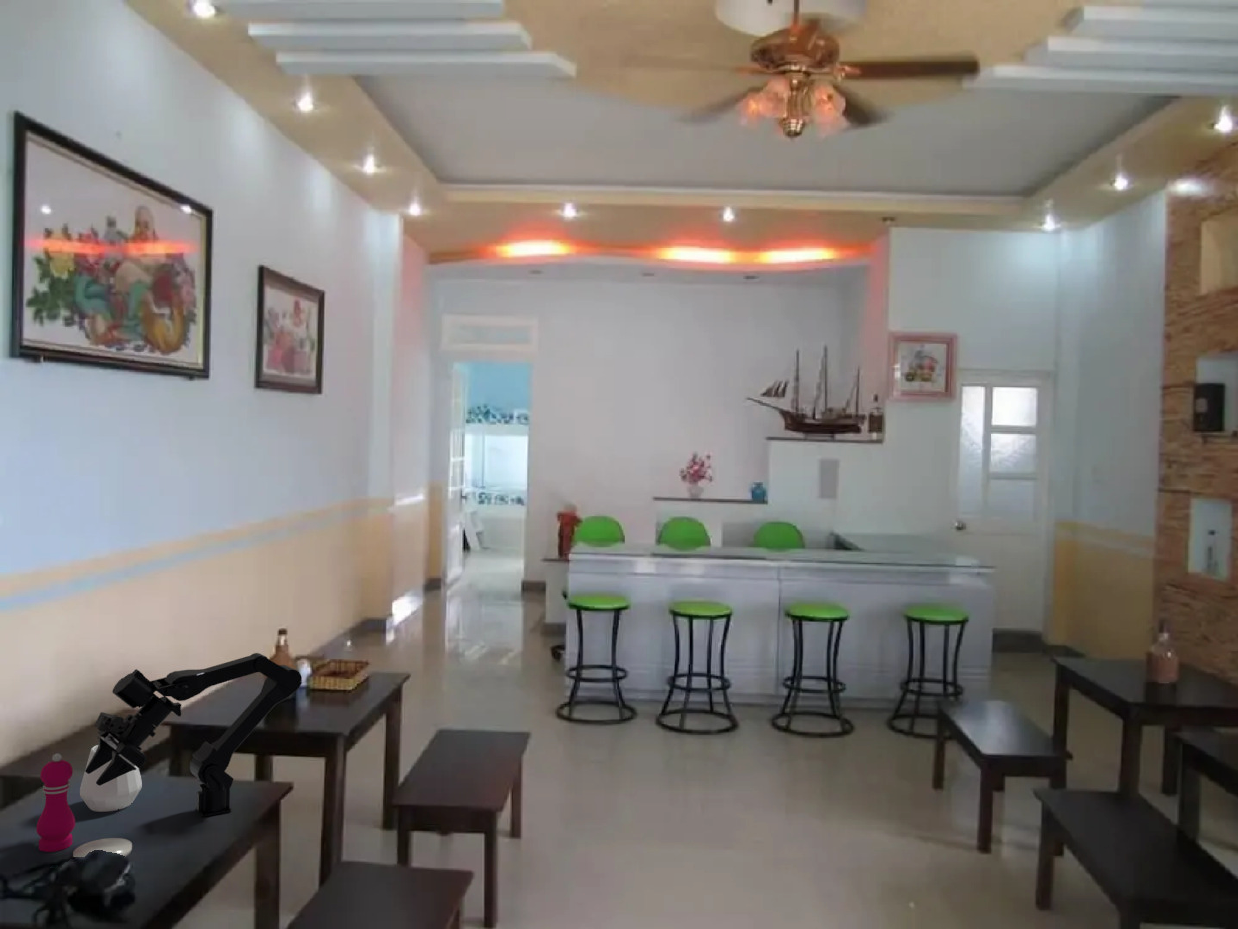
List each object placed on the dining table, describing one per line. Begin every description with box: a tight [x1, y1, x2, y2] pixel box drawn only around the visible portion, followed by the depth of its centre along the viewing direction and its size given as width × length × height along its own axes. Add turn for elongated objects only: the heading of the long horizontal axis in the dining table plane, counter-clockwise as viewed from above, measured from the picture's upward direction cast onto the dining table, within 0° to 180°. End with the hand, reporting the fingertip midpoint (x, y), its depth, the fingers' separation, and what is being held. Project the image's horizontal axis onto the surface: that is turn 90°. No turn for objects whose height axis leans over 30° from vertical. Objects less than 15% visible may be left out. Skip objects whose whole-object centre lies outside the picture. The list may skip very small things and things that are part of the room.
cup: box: [79, 744, 143, 813], centre depth 233 cm, size 13×13×14 cm
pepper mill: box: [35, 753, 76, 853], centre depth 209 cm, size 7×7×20 cm
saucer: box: [72, 837, 133, 858], centre depth 206 cm, size 11×11×1 cm
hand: (92, 778), depth 214 cm, fingers open, 9 cm apart
